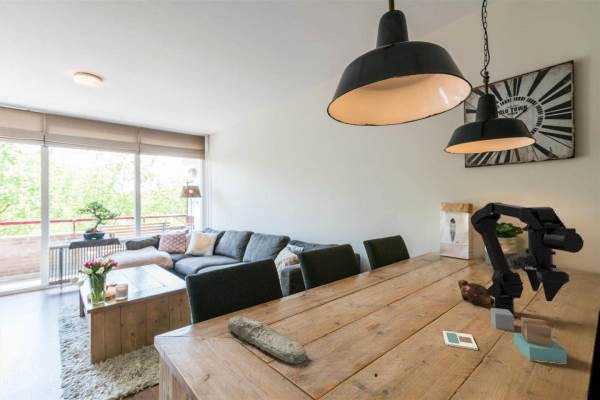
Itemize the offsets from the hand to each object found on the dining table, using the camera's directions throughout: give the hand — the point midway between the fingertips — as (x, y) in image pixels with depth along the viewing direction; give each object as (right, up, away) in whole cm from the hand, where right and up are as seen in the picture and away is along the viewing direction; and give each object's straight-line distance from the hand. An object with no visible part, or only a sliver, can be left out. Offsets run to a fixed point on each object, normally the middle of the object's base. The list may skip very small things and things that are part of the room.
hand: (541, 295), depth 84 cm
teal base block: (-10, -13, -10) cm, 19 cm away
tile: (-28, -13, -3) cm, 31 cm away
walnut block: (-11, -9, -10) cm, 17 cm away
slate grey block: (-8, -12, +6) cm, 16 cm away
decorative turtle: (-4, -12, +26) cm, 29 cm away
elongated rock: (-88, -15, +1) cm, 90 cm away
